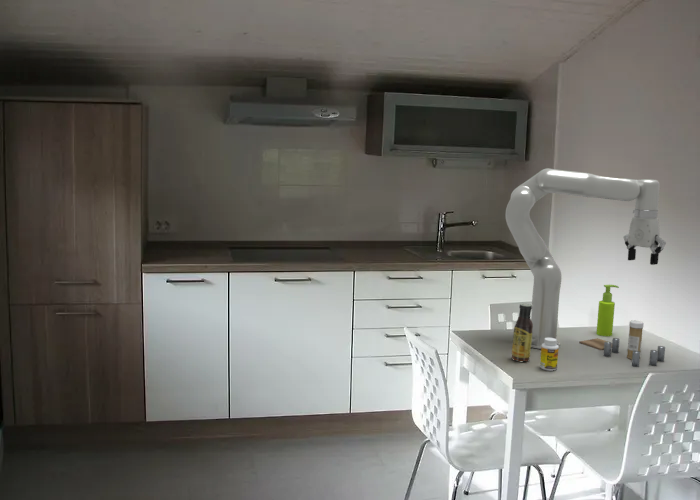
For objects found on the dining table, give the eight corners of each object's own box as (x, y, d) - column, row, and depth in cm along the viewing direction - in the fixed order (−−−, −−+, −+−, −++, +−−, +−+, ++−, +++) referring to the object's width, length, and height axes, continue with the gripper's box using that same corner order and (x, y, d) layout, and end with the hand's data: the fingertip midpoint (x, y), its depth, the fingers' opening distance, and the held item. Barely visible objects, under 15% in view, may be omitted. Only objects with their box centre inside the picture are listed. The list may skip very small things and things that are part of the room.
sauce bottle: (507, 359, 243) (511, 303, 240) (519, 356, 247) (522, 301, 244) (522, 364, 238) (526, 307, 235) (534, 360, 242) (538, 305, 239)
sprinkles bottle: (643, 359, 247) (646, 322, 244) (635, 361, 244) (638, 323, 242) (631, 355, 250) (634, 319, 248) (623, 357, 248) (626, 320, 246)
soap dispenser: (616, 336, 274) (621, 286, 271) (599, 336, 274) (603, 286, 271) (611, 332, 280) (615, 283, 277) (594, 332, 280) (598, 283, 277)
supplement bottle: (544, 371, 231) (547, 341, 229) (536, 366, 236) (538, 337, 234) (560, 370, 232) (562, 341, 230) (551, 365, 237) (553, 336, 236)
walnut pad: (600, 350, 256) (600, 348, 256) (579, 342, 265) (579, 341, 265) (619, 346, 261) (619, 345, 261) (597, 339, 269) (597, 338, 269)
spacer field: (640, 369, 236) (642, 354, 235) (597, 353, 251) (598, 340, 251) (670, 362, 243) (671, 348, 242) (626, 348, 259) (627, 335, 258)
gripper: (618, 212, 253) (615, 259, 256) (659, 217, 238) (655, 267, 241) (633, 211, 256) (630, 257, 259) (674, 216, 241) (670, 265, 244)
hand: (642, 262), depth 250 cm, fingers open, 9 cm apart
